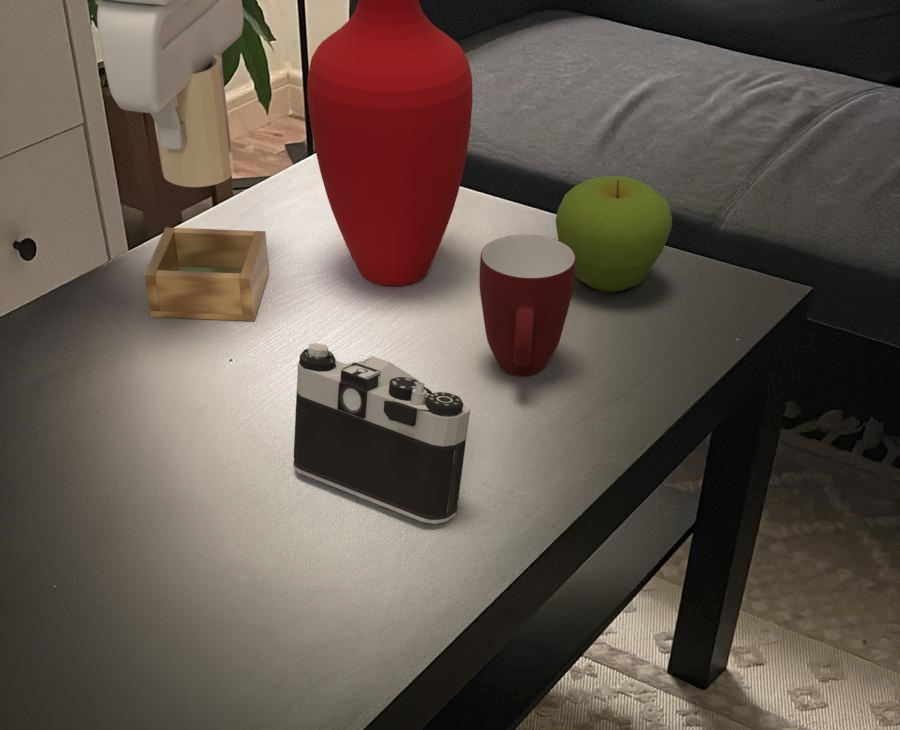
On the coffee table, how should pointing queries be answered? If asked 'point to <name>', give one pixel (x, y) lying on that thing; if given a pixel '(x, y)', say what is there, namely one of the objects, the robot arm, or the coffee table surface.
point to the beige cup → (201, 132)
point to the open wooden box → (207, 274)
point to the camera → (379, 434)
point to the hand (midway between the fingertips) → (191, 129)
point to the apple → (613, 230)
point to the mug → (525, 299)
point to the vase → (390, 135)
